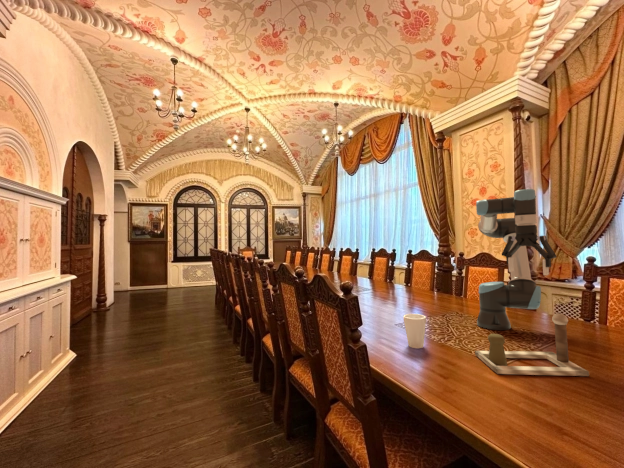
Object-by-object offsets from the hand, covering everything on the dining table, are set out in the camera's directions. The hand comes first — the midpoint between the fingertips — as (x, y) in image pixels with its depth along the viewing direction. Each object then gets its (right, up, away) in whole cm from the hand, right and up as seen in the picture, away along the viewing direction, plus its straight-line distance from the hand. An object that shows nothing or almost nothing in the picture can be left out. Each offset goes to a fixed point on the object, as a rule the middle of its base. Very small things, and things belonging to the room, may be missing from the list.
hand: (527, 273), depth 123 cm
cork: (-26, -31, -19) cm, 45 cm away
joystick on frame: (-16, -31, -20) cm, 40 cm away
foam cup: (-48, -33, +2) cm, 59 cm away
